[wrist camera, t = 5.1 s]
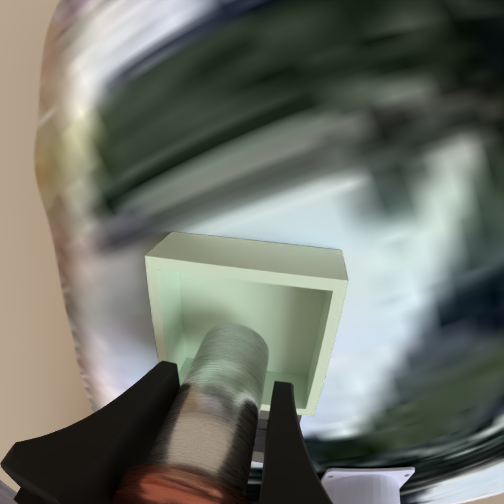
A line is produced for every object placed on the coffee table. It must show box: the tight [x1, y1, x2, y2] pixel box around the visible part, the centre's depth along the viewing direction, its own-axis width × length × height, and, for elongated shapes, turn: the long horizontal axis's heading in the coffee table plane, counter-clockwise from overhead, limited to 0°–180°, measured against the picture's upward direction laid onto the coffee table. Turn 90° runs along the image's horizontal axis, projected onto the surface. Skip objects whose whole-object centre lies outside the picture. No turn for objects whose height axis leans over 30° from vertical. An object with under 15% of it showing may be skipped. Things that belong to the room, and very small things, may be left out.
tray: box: [145, 232, 348, 416], centre depth 15 cm, size 8×8×3 cm
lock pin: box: [112, 324, 269, 504], centre depth 10 cm, size 4×4×9 cm
